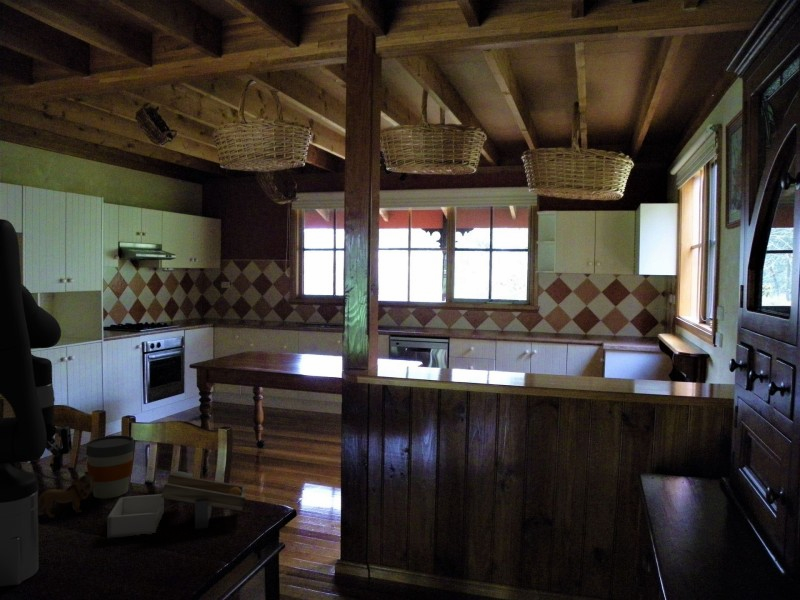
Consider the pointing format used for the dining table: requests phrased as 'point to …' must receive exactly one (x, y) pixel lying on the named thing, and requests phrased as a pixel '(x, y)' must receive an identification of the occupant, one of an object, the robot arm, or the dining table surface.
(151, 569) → the dining table surface
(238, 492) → the ball
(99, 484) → the reusable coffee cup
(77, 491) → the lion figurine
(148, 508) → the tray
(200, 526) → the fulcrum
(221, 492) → the lever
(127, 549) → the dining table surface
